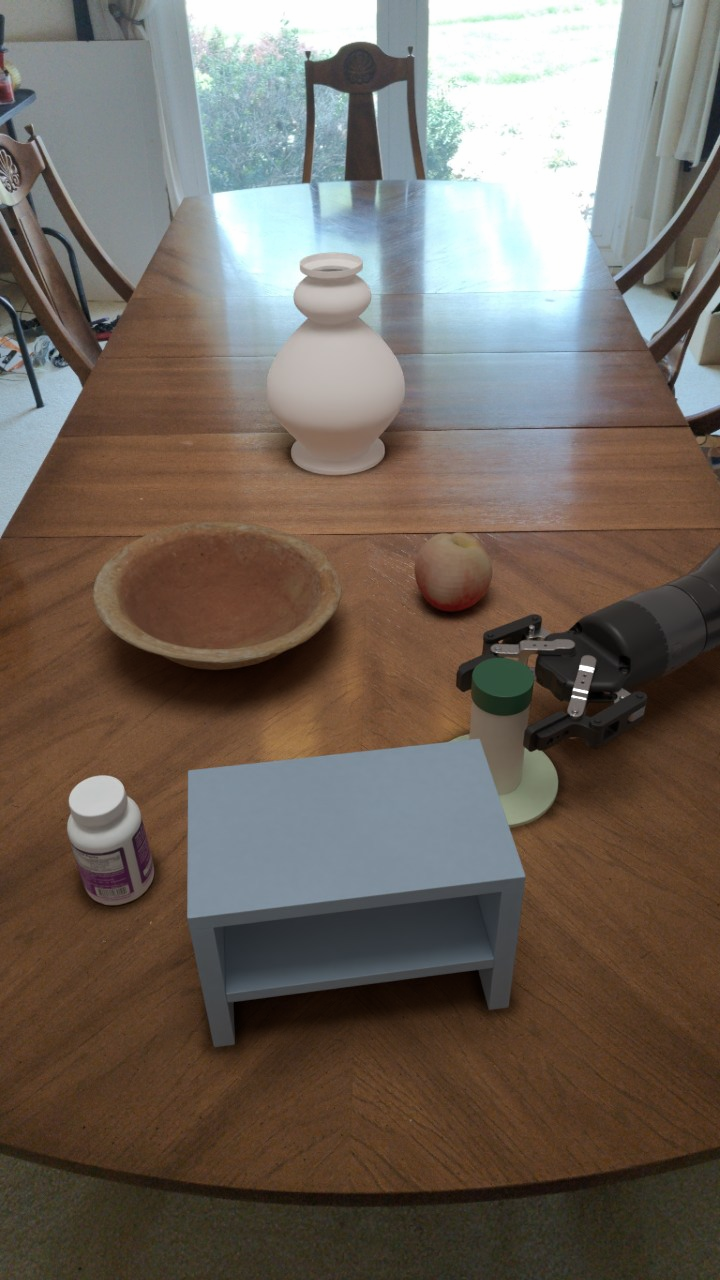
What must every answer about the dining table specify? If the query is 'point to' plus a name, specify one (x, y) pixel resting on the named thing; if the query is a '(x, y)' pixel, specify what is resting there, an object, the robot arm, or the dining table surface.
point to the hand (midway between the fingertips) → (491, 710)
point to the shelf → (349, 875)
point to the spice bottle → (501, 717)
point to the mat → (529, 789)
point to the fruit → (453, 571)
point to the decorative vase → (335, 372)
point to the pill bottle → (109, 841)
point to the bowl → (217, 593)
